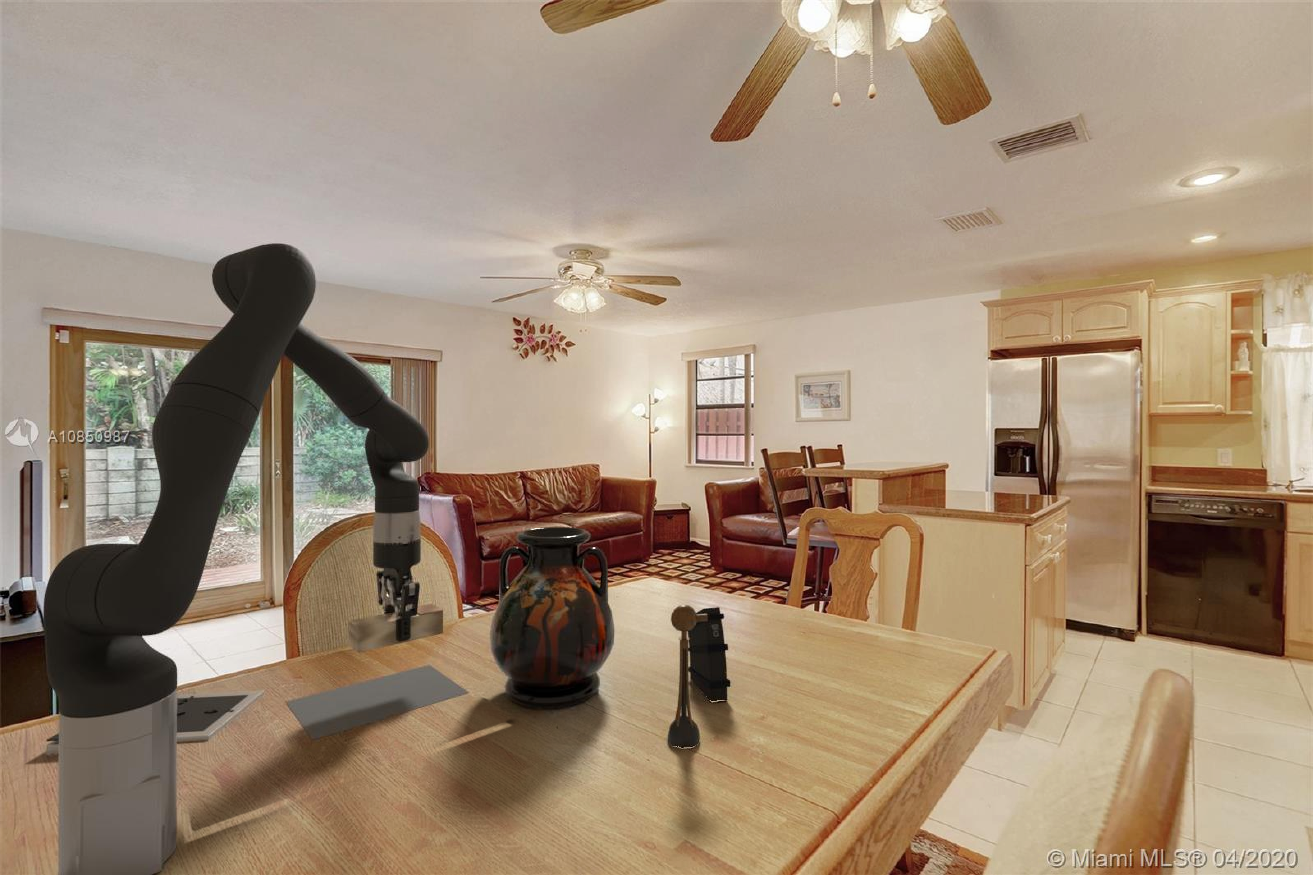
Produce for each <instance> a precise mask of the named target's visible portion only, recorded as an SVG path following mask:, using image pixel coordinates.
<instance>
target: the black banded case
mask: <svg viewBox="0 0 1313 875" xmlns="http://www.w3.org/2000/svg"><path fill="white" fill-rule="evenodd" d="M696 614H707V616H708V621H703V622H696V625H695V627H694V628H693V629H692V630H690V631H687V637H688V638H690V639H689V640H688V652H689V666H688V673H689V679H690V680H692V681H691V682H692V683H693V682H694V683H693V684H694V685H695V686H696V687H697V689H700V690H701V691H702V692H703V693H702V692H701V691H700V690H699V691H700V692H701V693H702V694H703V695H704V696H705V697H706V696H707V698H708V699H709V700H711V701H717V700H727V701H728V688H730V687H731V680H730V679H729V678H728V669H727V665H728V664H727V655H726V651H729V644H728V643H725V634H724V627H723V622H722V620H723V619H725V614H724V613H721V609H720V606H718V607H717V606H716V607H708V608H707V607H706V608H702V609H701V610H698V611H697V612H696ZM707 698H706V699H707ZM708 699H707V700H708ZM709 700H708V701H709Z"/></svg>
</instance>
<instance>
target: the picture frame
mask: <svg viewBox="0 0 1313 875" xmlns="http://www.w3.org/2000/svg"><path fill="white" fill-rule="evenodd" d="M264 695H265V690H249V691H247V690H245V691H226V692H222V691H221V692H208V693H207V692H203V693H185V694H177V743H183V742H198V741H199V742H203V741H210V740H211V739H212V738H213V737H214V736H216V735H217V734H218V733H219V732H220V731H222V730H223V729H224V728H225V727H226V726H227V725H229V724H230V723H232V721H234V720H235V719H236V718H237V717H238V716H240V715H241V714H243V712H245V711H246V710H247V709H248V708H249V707H250V706H251V705H254V703H255V702H256V701H258V700H259V699H260V698H261V697H263V696H264ZM46 742H48V743H47V744H45V745H46V748H45V752H46V754H45V756H46V755H47V756H52V755H51V754H59V732H58V733H56V734H55V735H53V736H51V737H49V738H47V739H46Z"/></svg>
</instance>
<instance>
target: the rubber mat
mask: <svg viewBox="0 0 1313 875" xmlns="http://www.w3.org/2000/svg"><path fill="white" fill-rule="evenodd" d="M467 694H470V692H469V691H468V690H466V688H464V687H462V686H461V685H459V684H458V683H456V682H455V681H454V680H452V679H450V678H449V677H447V676H446V675H445V674H443V673H442V672H440V671H439V670H438V669H436V668H435V667H433V666H432V665H430V664H427V665H424V666H420V667H416V668H412V669H411V668H410V669H408V670H404V671H400V672H396V673H392V674H388V675H385V676H381V677H377V678H372V679H369V680H365V681H362V682H358V683H353V684H349V685H345V686H341V687H338V688H334V689H330V690H327V691H321V692H318V693H314V694H311V695H306V696H302V697H298V698H295V699H290V700H287V701H285V703H286V705H287V706H288V708H289V709H290V711H291V712H292V713H293V715H294V717H296V719H297V720H298V722H299V723H300V724H301V726H302V727H303V729H304V731H305V732H306V733H307V734H308V736H309V738H310V739H311V741H315V740H317V739H322V738H324V737H327V736H332V735H335V734H338V733H340V732H341V733H342V732H343V731H347V730H351V729H355V728H357V727H360V726H364V725H367V724H370V723H374V722H377V721H381V720H383V719H387V718H390V717H394V716H398V715H401V714H405V713H407V712H410V711H414V710H417V709H420V708H424V707H427V706H430V705H433V704H437V703H439V702H443V701H446V700H447V701H448V700H450V699H453V698H456V697H461V696H462V695H463V696H464V695H467Z"/></svg>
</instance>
